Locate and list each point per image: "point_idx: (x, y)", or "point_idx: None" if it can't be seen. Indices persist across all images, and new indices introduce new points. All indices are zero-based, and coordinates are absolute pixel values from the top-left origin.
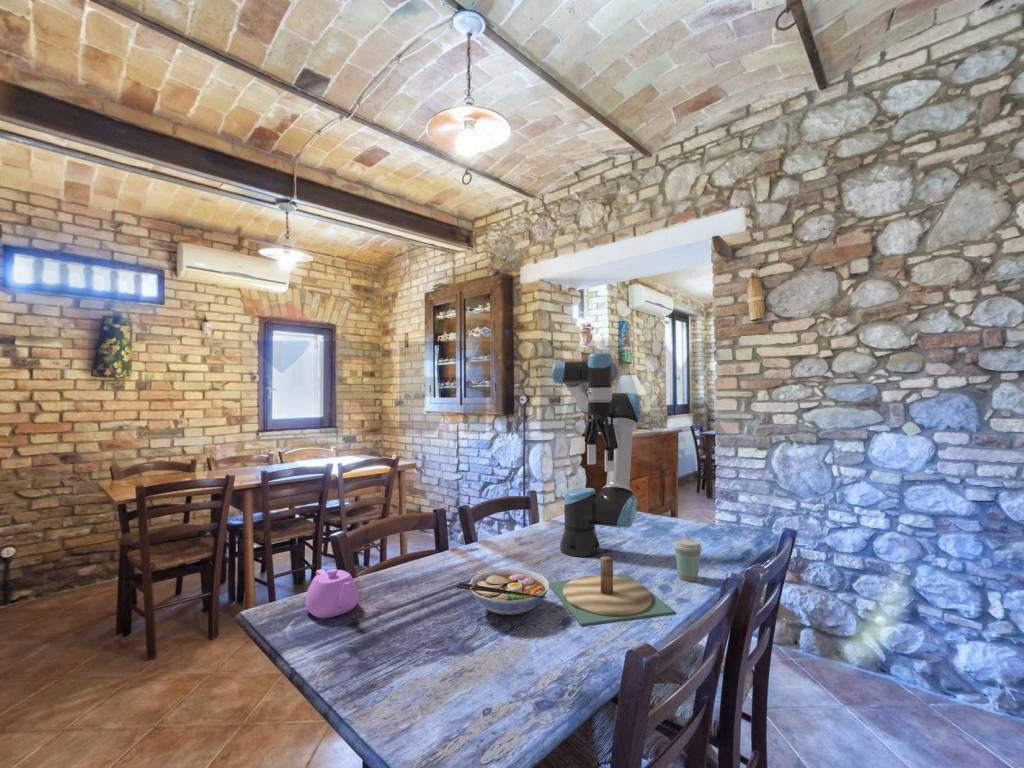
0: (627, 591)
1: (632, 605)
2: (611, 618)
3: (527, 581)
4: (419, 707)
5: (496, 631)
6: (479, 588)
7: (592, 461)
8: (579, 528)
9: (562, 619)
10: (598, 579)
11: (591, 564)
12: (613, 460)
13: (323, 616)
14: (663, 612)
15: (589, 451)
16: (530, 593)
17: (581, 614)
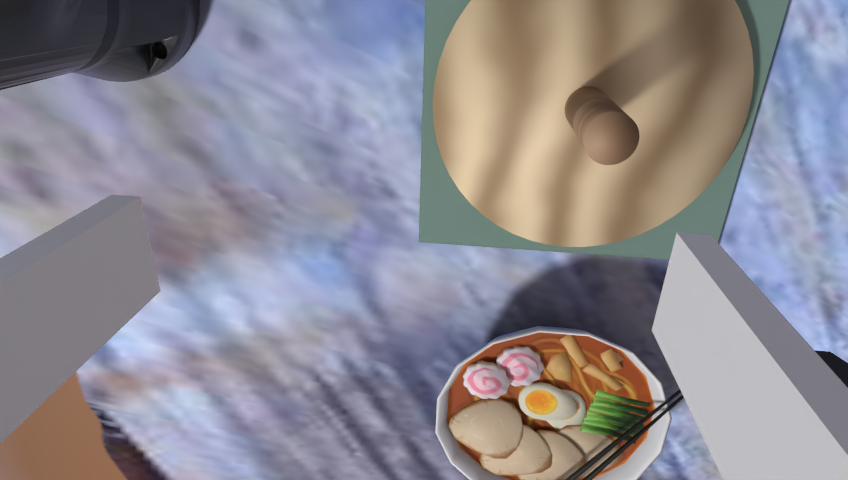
0: (612, 30)
1: (717, 74)
2: (732, 171)
3: (527, 366)
4: None
5: None
6: None
7: (128, 259)
8: (106, 26)
9: (652, 286)
10: (474, 84)
11: (283, 13)
12: (834, 356)
13: None
14: None
15: (35, 386)
16: (601, 380)
17: (665, 238)
